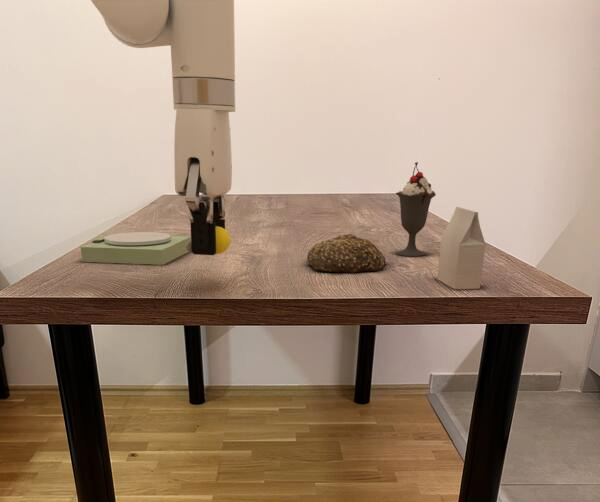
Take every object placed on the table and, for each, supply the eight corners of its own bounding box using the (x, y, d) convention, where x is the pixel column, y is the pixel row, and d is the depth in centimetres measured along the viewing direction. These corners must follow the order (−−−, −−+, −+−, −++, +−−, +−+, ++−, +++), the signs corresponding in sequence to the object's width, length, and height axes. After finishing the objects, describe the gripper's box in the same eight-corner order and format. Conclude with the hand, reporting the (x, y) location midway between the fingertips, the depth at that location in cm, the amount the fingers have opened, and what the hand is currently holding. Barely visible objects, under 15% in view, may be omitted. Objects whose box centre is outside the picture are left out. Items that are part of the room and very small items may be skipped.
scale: (82, 261, 104) (79, 241, 103) (118, 247, 117) (116, 229, 115) (163, 265, 102) (161, 244, 101) (191, 250, 114) (190, 231, 113)
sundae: (401, 258, 108) (408, 162, 102) (386, 251, 114) (391, 160, 108) (436, 256, 110) (445, 162, 103) (419, 250, 116) (427, 160, 109)
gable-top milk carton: (454, 289, 87) (462, 212, 83) (437, 279, 93) (444, 207, 89) (479, 288, 88) (489, 212, 83) (460, 278, 94) (469, 206, 89)
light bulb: (233, 254, 84) (225, 230, 82) (190, 266, 85) (181, 242, 83) (233, 243, 87) (225, 218, 84) (192, 254, 87) (182, 230, 85)
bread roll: (305, 273, 97) (306, 239, 94) (307, 258, 108) (307, 227, 106) (390, 274, 96) (392, 240, 94) (383, 259, 107) (385, 228, 105)
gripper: (196, 100, 85) (201, 241, 93) (149, 92, 71) (159, 260, 79) (250, 101, 84) (251, 244, 92) (214, 94, 70) (218, 264, 77)
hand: (208, 250), depth 85 cm, fingers closed on light bulb, 3 cm apart
